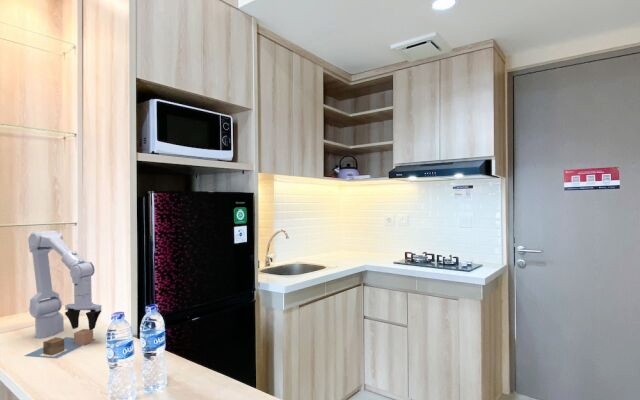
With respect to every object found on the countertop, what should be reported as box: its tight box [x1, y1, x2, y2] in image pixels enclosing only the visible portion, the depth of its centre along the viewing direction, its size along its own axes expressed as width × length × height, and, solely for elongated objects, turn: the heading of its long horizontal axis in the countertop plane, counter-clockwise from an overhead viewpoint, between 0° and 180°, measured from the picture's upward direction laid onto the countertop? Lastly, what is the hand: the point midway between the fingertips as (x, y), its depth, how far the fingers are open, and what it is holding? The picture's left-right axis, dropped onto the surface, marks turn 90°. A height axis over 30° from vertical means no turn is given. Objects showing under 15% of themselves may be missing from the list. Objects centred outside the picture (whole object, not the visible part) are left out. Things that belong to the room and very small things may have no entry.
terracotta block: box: [73, 328, 94, 346], centre depth 146 cm, size 4×4×4 cm
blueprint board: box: [24, 337, 96, 359], centre depth 142 cm, size 18×14×1 cm
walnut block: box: [42, 336, 65, 356], centre depth 137 cm, size 4×4×4 cm
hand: (83, 328), depth 146 cm, fingers open, 7 cm apart
